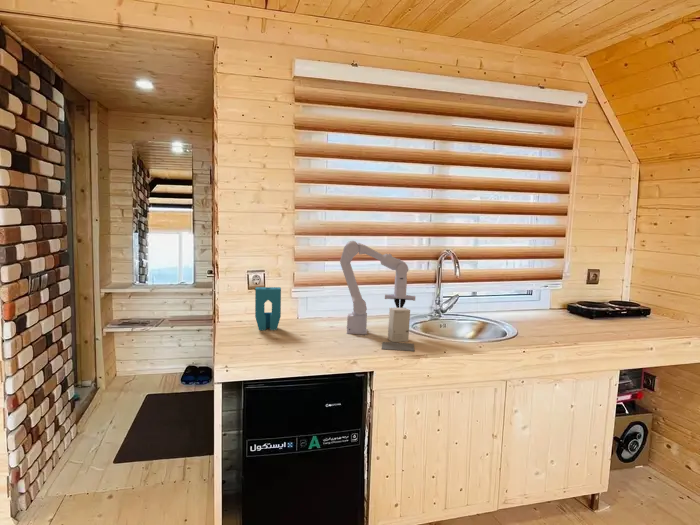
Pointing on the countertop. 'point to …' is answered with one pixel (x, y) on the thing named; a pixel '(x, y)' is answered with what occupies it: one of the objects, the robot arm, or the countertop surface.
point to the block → (261, 297)
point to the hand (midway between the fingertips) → (399, 314)
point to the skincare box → (398, 324)
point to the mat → (398, 346)
